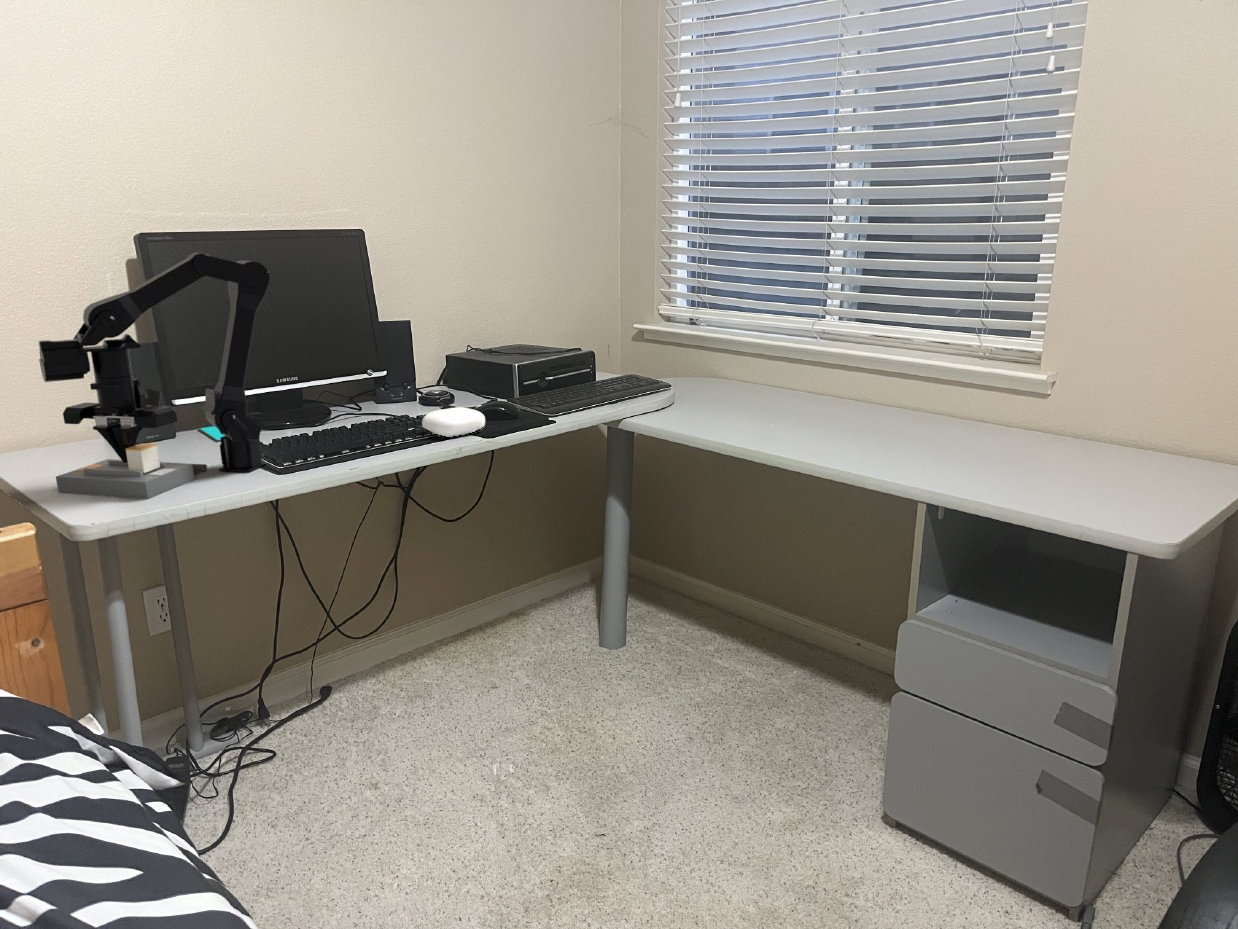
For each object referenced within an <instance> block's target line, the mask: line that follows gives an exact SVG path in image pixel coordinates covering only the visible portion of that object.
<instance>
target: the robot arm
mask: <svg viewBox="0 0 1238 929" xmlns="http://www.w3.org/2000/svg"><path fill="white" fill-rule="evenodd" d="M203 277H207V278H212V279H215V280H218V281H223V282H227V293H228V299H229V304H230V310H229V316H228V323H227V330H226V335H225V340H224V346H223V353H222V359H221V360H222V361H221V366H220V372H219V379H218V382H217V384H216V385H215V387H214V388H213V389H210V388H206V389H205V393H204V394H205V398H204V404H203V406H202V408H201V410H203V411H204V412H205V413H204V415H205V419H206V420H207V422H208V423H209V424H210V425H211V426H214V427H216V428H218V430H219V431H220V433H221V434H222V435H225V436H223V437H221V438H220V439H221V442H220V444H219V452H220V459H221V464H222V466H220V467H218V471H221V472H222V471H225V472H238V473H239V472H242V473H249V472H252V471H254V470H257V469H258V468H260V467H262V466H261V461H263V457H262V451H261V450H262V449H261V442H260V436H261V432H262V427H261V426H259V425H258V424H257V423H255V422H253V421H252V420H251V419H250V418H248V409H247V408H248V406H247V405H248V402H247V397H246V391H245V380H246V374H247V368H248V362H249V357H250V356H249V355H250V349H251V344H252V339H253V333H254V325H255V319H256V314H257V312H258V309H259V308H260V306H261V304H262V302H263V301H264V299H265V297H266V294H267V292H268V288H269V285H270V282H271V275H270V271H269V270H268V269H267V268H266V267H265V265H263V264H262V263H261V262H258V261H251V260H237V261H231V260H227V259H223V258H220V257H214V256H211V255H209V254H207V253H203V252H193V253H191V254H189V255H188V256H187V257H186V258H185V259H183V260H181V261H180V262H178V263H176V264H174V265H172V266H170V267H169V268H167V269H164V271H162V272H160V273H159V274H156V275H155V276H153V277H152V278H149V279H148V280H146V281H144V282H143V283H140V284H139V285H137V286H135V287H134V288H132V289H131V290H128V291H125V292H121V293H118V294H116V295H115V294H114V295H112V296H108V297H106V298H102V299H100V300H97V301H95V302H91V303H90V304H89V305H88V306H86V308H85V309H84V310H83V315H82V318H83V320H82V321H83V323H82V325H81V326H80V328H79V329H78V331H77V332H75V333H76V334H75V335H74V337H73V339H64V340H61V339H60V340H49V339H47V340H39V341H38V346H39V347H38V348H39V361H38V362H39V365H40V370H41V371H40V372H41V375H42V378H43V381H44V382H45V383H49V382H50V383H51V382H59V381H60V382H61V381H62V382H63V381H73V380H82V379H84V378H85V375H88V373H91V363H90V359H89V353H90V355H91V362H92V367H93V368H92V369H93V373H94V374H93V375H94V379H95V380H94V381H95V382H91V383H90V384H89V386H90V390H93V391H94V390H95V391H96V393H97V399H98V402H82V403H78V404H74V405H71V406H66V407H65V409H64V410H63V413H62V416H63V421H64V425H65V424H66V425H79V424H81V423H82V421H83V420H84V419H88V420H94V421H95V423H94V424H95V425H93V426H92V429H93V430H94V431H97V432H98V433H99V435H100V436H101V437H103V439H104V440H105V441H106V442H107V443H108V444H109V446H110V447H111V448H112V450H113V451H114V452H115V454H116V455H117V456H118V457H119V459H120V460H122V461H123V462H124V463H128V460H127V454H126V448H129V447H132V446H135V445H136V443H137V439H138V437H139V434H140V432H141V430H142V429H157V428H161V427H164V426H168V425H170V424H173V423H176V422H178V416H177V411H176V410H175V408H173V407H172V406H167V405H161V398H162V391H160V390H156V389H151V388H147V387H142V386H141V381H140V380H139V378H134V376H133V369H132V364H131V356H130V349H131V350H132V349H141V347H142V344H141V343H139V342H138V341H136V340H135V339H134V338H133V337H132V336H131V335H130V334H128V333H125V334H124V335H123V337H122V338H117V337H119V336H120V335H122V334H123V333H124V332H125V331H127V330H128V329H129V328H130V327H131V326H133V325H134V324H135V323H136V322H137V321H138V319H140V317H142V315H143V314H144V313H146V312H147V311H148V310H149V309H151V308H153V307H154V306H157V305H158V304H160V303H161V302H163V301H164V300H166V299H168V298H169V297H171V296H172V295H174V294H176V293H178V292H180V291H181V290H183V289H184V288H186V287H188V286H190V285H192V284H193V283H196V282H197V281H198V280H200V279H202V278H203ZM106 338H107V339H106ZM113 338H116V339H113ZM102 341H103V342H102ZM101 342H102V345H99V343H101ZM138 409H139V410H138Z"/></svg>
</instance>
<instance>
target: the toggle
mask: <svg viewBox="0 0 1238 929" xmlns="http://www.w3.org/2000/svg"><path fill="white" fill-rule="evenodd" d="M126 454H127V460H128V467H129V471H143V473H146V472H149V471H151V470H154V469H157V468H159V467H160V462H161V461H160V458H159V449H158V444H157V443H150V442H149V443H148V442H146V443H143V442H141V443H139V444H135V446H132V447H129V448H126Z"/></svg>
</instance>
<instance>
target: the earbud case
mask: <svg viewBox="0 0 1238 929" xmlns="http://www.w3.org/2000/svg"><path fill="white" fill-rule="evenodd" d="M421 420H422V421H421V423H422V426H421V427H422V429H423V428H425V429H427V430H429V431H431V432H433V433H435V434H438V435H442V436H446V437H450V438H454V437H453V436H456V437H460V436H459V435H462V436H466V435H465V434H467V435H469V434H468V433H472V432H475V431H476V430H478V429H481V428H482V427H483V428H484V427H485V425H486V417H485V415H484V414H483V413H482V412H480V411H478V410H476V409H472V408H468V407H462V406H461V407H460V406H459V407H450V408H444V409H439V410H434V411H431V412H429V413H427V414H425V415H424V416H423V418H422V419H421ZM483 428H482V429H483ZM482 429H481V430H482ZM475 433H476V432H475ZM472 434H473V433H472Z"/></svg>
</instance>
